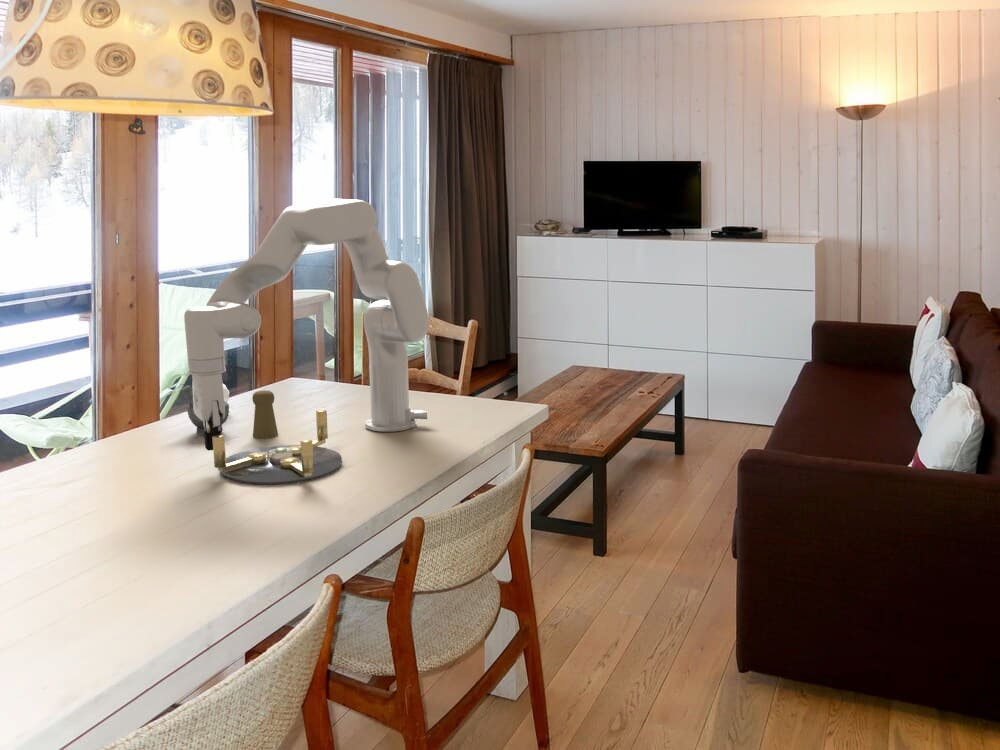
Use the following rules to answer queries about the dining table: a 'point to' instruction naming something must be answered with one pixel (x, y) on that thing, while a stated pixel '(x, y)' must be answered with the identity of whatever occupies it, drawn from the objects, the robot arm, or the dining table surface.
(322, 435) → the brass bent bar
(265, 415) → the olive tapered upright piece
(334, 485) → the dining table surface
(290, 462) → the brass crank handle
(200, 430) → the mortar and pestle
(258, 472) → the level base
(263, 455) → the gold l-shaped piece
